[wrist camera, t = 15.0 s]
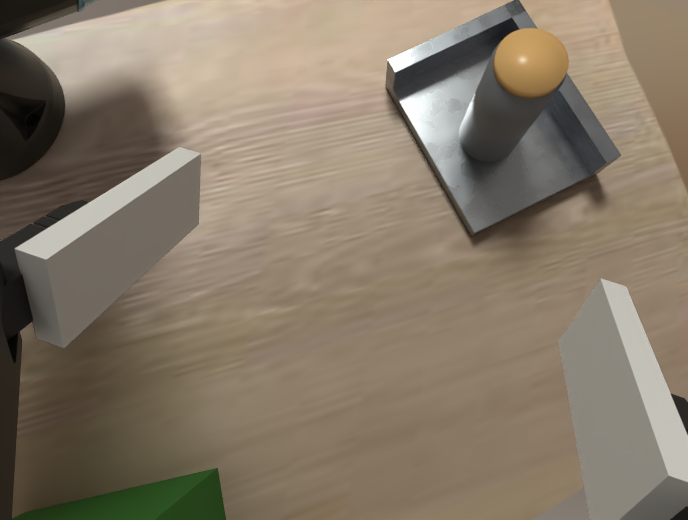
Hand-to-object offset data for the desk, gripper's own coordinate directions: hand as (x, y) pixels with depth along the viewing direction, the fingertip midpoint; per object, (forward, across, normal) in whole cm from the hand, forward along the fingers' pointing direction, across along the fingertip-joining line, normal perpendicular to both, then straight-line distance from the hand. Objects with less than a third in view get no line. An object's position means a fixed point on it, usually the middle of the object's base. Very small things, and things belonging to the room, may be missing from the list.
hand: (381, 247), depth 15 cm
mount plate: (+36, +6, -6) cm, 37 cm away
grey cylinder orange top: (+34, +6, -6) cm, 35 cm away
